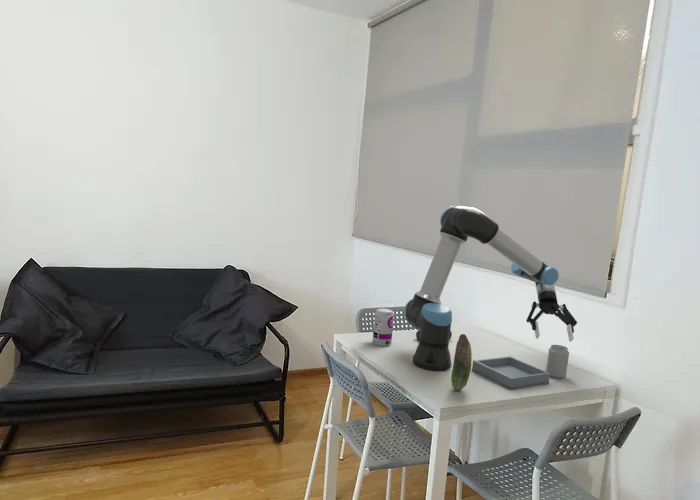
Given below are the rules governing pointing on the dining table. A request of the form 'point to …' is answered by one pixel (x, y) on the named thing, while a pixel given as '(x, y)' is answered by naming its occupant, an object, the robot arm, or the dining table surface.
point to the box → (510, 372)
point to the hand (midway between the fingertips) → (554, 338)
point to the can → (557, 361)
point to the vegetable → (461, 363)
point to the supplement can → (383, 327)
